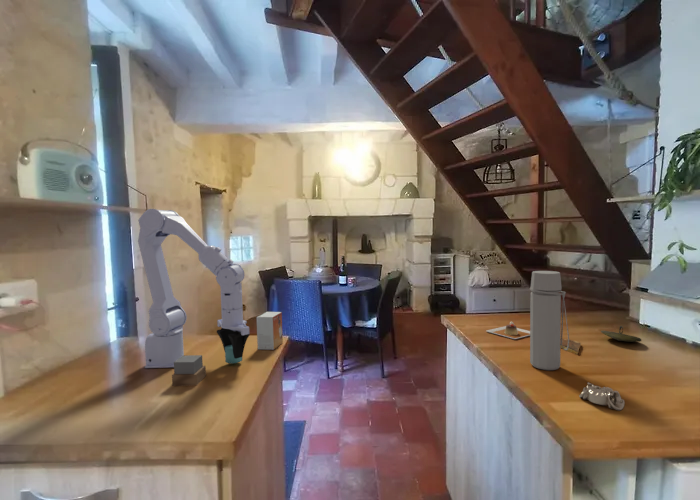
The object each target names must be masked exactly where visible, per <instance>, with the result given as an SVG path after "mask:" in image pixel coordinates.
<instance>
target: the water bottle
mask: <svg viewBox="0 0 700 500" xmlns="http://www.w3.org/2000/svg"><path fill="white" fill-rule="evenodd" d="M561 277H562V276H561V272H559V271H553V270H535V271H534V270H533V271H532V272H531V278H530V279H531V280H530V287H529V290H530V291H531V292H530V297H529V300H530V301H529V302H530V303H529V305H530V307H529V312H530V313H529V314H530V315H529V317H530V318H529V319H530V320H529V323H530V324H529V325H530V326H529V328H530V329H529V331H530V334H529V335H530V336H529V343H530V344H529V346H530V347H529V363H530V364H531V365H532V366H533V367H534V368H537V369H538V370H541V371H542V370H543V371H556V370H559V368H561V367H560V366H561V349H562V348H563V346H562V339H563V332H564V331H563V330H564V316H565V322H566V331H567V333H566V334H567V339H568V346H567V349H564V348H563V349H562V350H563V351H566V350H568V347H569V340H570V333H569V327H568V318H567V317H568V316H567V310H566V301H565V297H566V293H567V292H566V291H564V290H563V291H562V289H563V288H562V287H563V286H562V279H561ZM561 305H562V306H561ZM560 342H561V346H562V348H560Z"/></svg>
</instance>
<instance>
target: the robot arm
mask: <svg viewBox="0 0 700 500" xmlns="http://www.w3.org/2000/svg"><path fill="white" fill-rule="evenodd" d="M137 220H138V225H139V233H138V237H137V239H138V240H137V242H138V248H139V251H140V255H141V259H142V263H143V267H144V271H145V274H146V279H147V282H148V287H149V288H148V289H149V290H150V296H151V299H152V304H151V306H150V307H149V309H148V314H149V317H148V318H149V319H148V328H149V331H151V333H149V334H148V335H147V337H146V338H145V341H144V353H145V365H144V369H162V368H163V369H164V368H168V369H169V368H174V362H175V361H176V360H178V359H179V358H180V357H182V356H185V355H184V354H185V351H184V350H185V349H184V335H183V333H184V332H183V329H184V325H185V323H187V318H188V316H187V312H186V311H185V310H184V308H183V307H182V305H181V301H179V300H178V299H177V298H176V297H175V296H174V293H173V288H172V284H171V281H170V279H171V278H170V277H169V273H168V272H169V271H168V269H167V264H166V260H165V259H166V258H165V255H164V252H163V249H162V243H163V242H164V241H165V240H166V239H167V237H169V236H170V235H174V236H177V237H178V238H180V239H181V240H182V241H183V242H184V243H185V244H186V245H188V246H189V247H190V248H191V249H192V250H194V251H195V252H196V253H197V254H198V260H199V262H200V263H201V264H202V265H203V266H205V268H207V270H209V271H210V272H211V273H212V274H213V275H214V276H215V280H216V282H217V284H218V285H219V287H220V308H221V311H220V312H221V319H217V321H216V322H217V327H218V328H220V329H217V330H216V334H217V335H218V337H219V339H220V341H221V345H222V347H223V350H224V352H225V347H226V346H228V345H232V348H233V355H234V358H235V359H236V358H240V357H242V358H243V356H244V351H245V346H246V343H247V340H248V338H249V336H250V334H251V333H250V326H247V325H246V324H247V323H248V322H247V320H245V319H244V315H243V314H244V310H243V307H244V306H243V288H242V287H243V286H242V283H243V280H244V279H245V270H244V268H243V267H242V266H241V264H238V263H234V261H233V260H232V259H229V258H228V257H227V256H226V255H225V254H224V253H223V252H222V248H221V247H219V246H215V245H209V244H207V243H206V241H204V239H202V238H201V237H200V235H199V234H198V233H196V231H195V230H194V229H193V228H192V227H191V226H190V225H189V224H188V223H187V222H186V220H185V217H182V216H181V215H180V214H178V212H176V211H175V210H173V209H168V210H167V209H165V210H164V209H156V208H148V209H146V210H145V211H144V212H143V213H142V214H141V216H140V217H139V219H137Z"/></svg>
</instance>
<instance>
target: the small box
mask: <svg viewBox="0 0 700 500" xmlns="http://www.w3.org/2000/svg"><path fill="white" fill-rule="evenodd" d="M283 337H284V336H283V312H282V311H266V312H264V313H262V314H260V315H258V316H256V339H257V341H256V342H257V350H267V351H269V350H271V351H272V350H273V351H274V350H275V349H277V348H278V347H279V346H281V345H282V344H283V343H284V341H283Z"/></svg>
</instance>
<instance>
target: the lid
mask: <svg viewBox="0 0 700 500" xmlns="http://www.w3.org/2000/svg"><path fill="white" fill-rule="evenodd" d="M621 330H622V331H621ZM623 330H624V327H623V325H620V326H619V330H618V332H616V331H610V330H600V332H601V334H603V335H605V336H606V337H609V338H611V339H613V340H615V341H618V342H619V341H620V342H626V343H627V342H629V343H633V342H639V343H640V342H642V338H640V337H637V336H634V335H629V334H624V331H623Z"/></svg>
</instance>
